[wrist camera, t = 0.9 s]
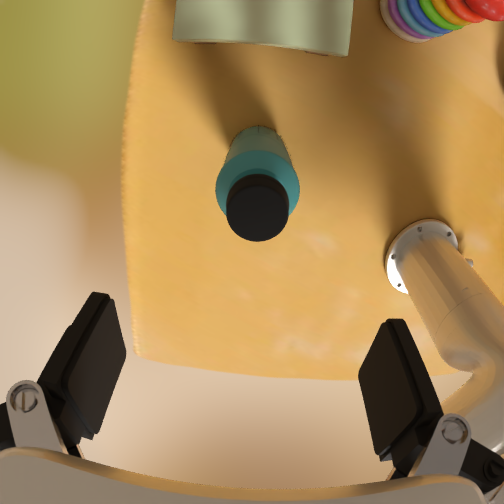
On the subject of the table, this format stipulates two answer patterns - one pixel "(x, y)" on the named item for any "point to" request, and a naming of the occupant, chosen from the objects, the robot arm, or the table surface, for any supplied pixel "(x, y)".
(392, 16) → the stacking toy
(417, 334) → the table surface
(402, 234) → the robot arm
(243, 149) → the beverage bottle
